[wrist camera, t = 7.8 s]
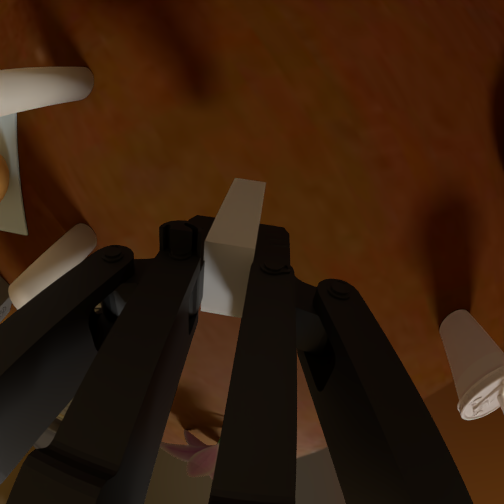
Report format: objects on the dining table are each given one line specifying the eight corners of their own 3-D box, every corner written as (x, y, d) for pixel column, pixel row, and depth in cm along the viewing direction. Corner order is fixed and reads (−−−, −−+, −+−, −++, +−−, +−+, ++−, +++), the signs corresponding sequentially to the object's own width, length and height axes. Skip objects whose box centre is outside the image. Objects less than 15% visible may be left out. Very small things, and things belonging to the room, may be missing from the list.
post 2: (95, 225, 23) (30, 288, 15) (98, 253, 24) (41, 321, 16) (70, 221, 23) (3, 280, 15) (74, 248, 24) (14, 311, 16)
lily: (158, 397, 36) (139, 462, 31) (226, 415, 29) (204, 497, 24) (219, 416, 43) (204, 471, 38) (285, 429, 36) (268, 494, 31)
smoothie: (483, 326, 26) (537, 428, 13) (434, 355, 28) (475, 467, 16) (475, 286, 23) (548, 401, 11) (420, 321, 26) (473, 450, 13)
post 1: (95, 65, 17) (6, 66, 9) (92, 99, 18) (4, 117, 10) (67, 68, 17) (-22, 75, 9) (65, 101, 18) (-23, 122, 10)
